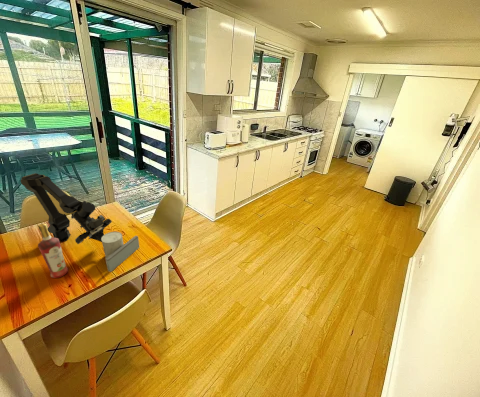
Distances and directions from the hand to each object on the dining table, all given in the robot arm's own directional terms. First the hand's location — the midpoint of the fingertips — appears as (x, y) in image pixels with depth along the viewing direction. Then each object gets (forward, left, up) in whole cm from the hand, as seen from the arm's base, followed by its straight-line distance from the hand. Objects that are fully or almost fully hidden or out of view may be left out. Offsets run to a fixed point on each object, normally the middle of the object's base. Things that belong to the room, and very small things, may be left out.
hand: (105, 242), depth 120 cm
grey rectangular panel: (+10, -6, -7) cm, 13 cm away
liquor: (-18, -13, -7) cm, 23 cm away
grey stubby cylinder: (+4, -3, -7) cm, 9 cm away
